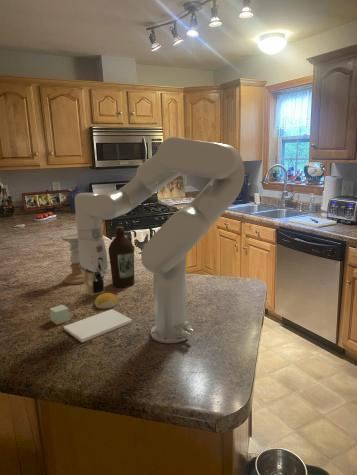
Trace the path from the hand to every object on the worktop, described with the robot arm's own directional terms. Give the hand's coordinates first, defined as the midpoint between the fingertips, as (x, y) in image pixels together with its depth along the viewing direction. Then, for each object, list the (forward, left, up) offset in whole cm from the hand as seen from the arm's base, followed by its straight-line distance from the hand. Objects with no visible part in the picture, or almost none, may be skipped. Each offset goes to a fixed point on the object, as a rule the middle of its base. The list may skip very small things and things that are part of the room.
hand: (94, 289), depth 111 cm
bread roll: (+13, -12, -13) cm, 22 cm away
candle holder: (+47, -17, -13) cm, 51 cm away
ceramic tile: (0, 0, -12) cm, 12 cm away
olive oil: (+27, -28, -13) cm, 41 cm away
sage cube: (+13, +7, -13) cm, 19 cm away
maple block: (0, 0, -1) cm, 1 cm away
